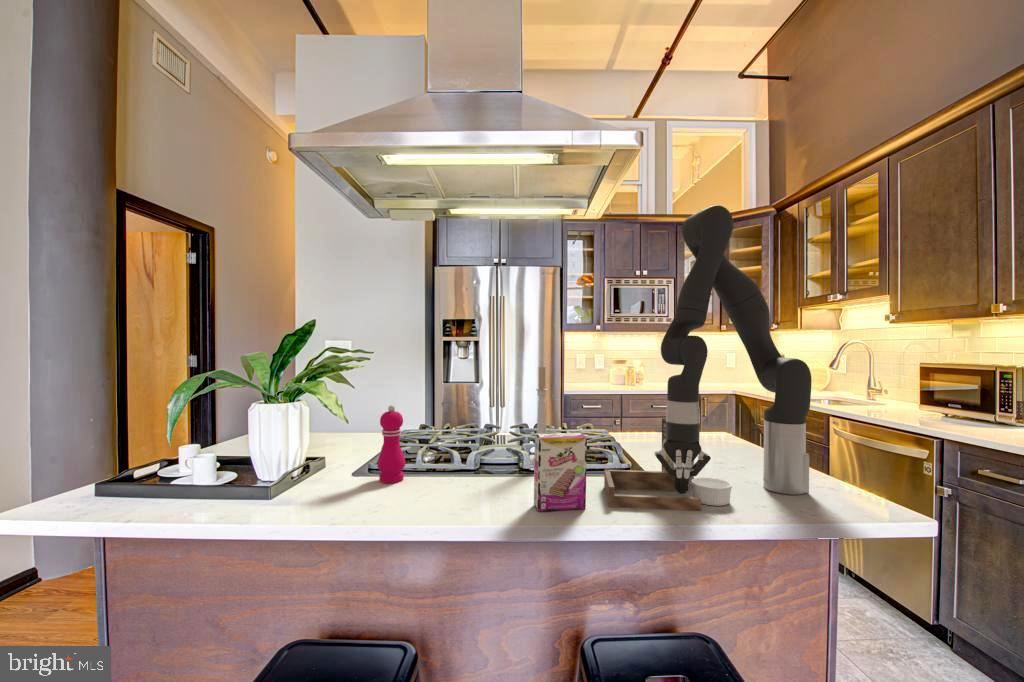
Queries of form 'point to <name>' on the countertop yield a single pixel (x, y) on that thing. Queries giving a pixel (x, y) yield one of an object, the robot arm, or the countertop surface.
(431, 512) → the countertop surface
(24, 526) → the countertop surface
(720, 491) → the ramekin
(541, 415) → the candlestick
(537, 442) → the candy bar box
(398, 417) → the pepper mill
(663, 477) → the open wooden box
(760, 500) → the countertop surface
